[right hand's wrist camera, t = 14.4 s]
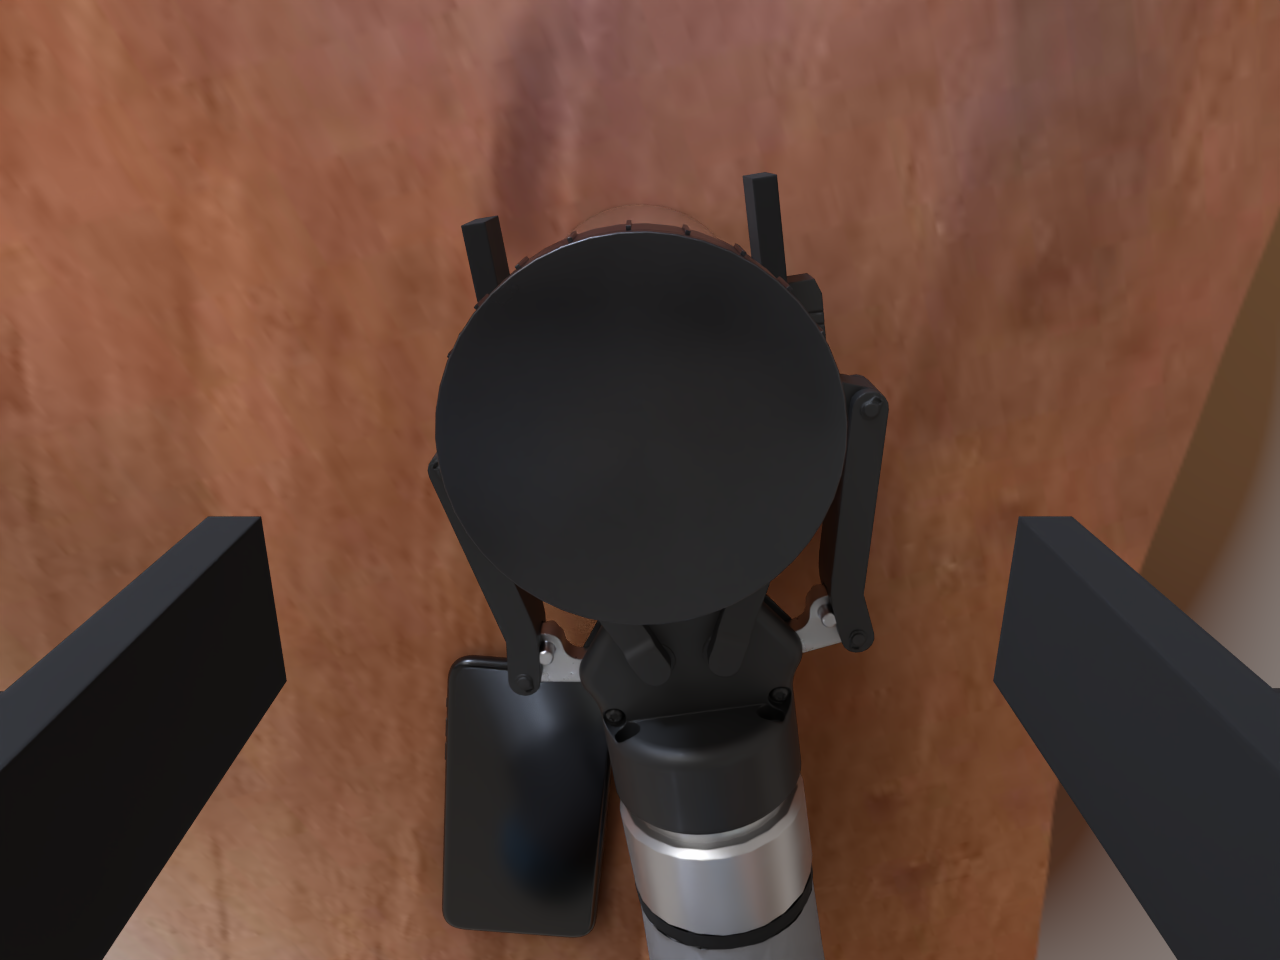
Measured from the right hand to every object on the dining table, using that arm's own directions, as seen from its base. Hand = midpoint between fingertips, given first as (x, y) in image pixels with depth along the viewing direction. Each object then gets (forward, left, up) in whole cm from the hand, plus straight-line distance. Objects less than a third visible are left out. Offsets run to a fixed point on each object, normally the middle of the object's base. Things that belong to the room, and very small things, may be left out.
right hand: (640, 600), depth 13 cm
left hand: (0, -5, -18) cm, 19 cm away
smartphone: (+11, +22, -24) cm, 34 cm away
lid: (0, 0, -8) cm, 8 cm away
